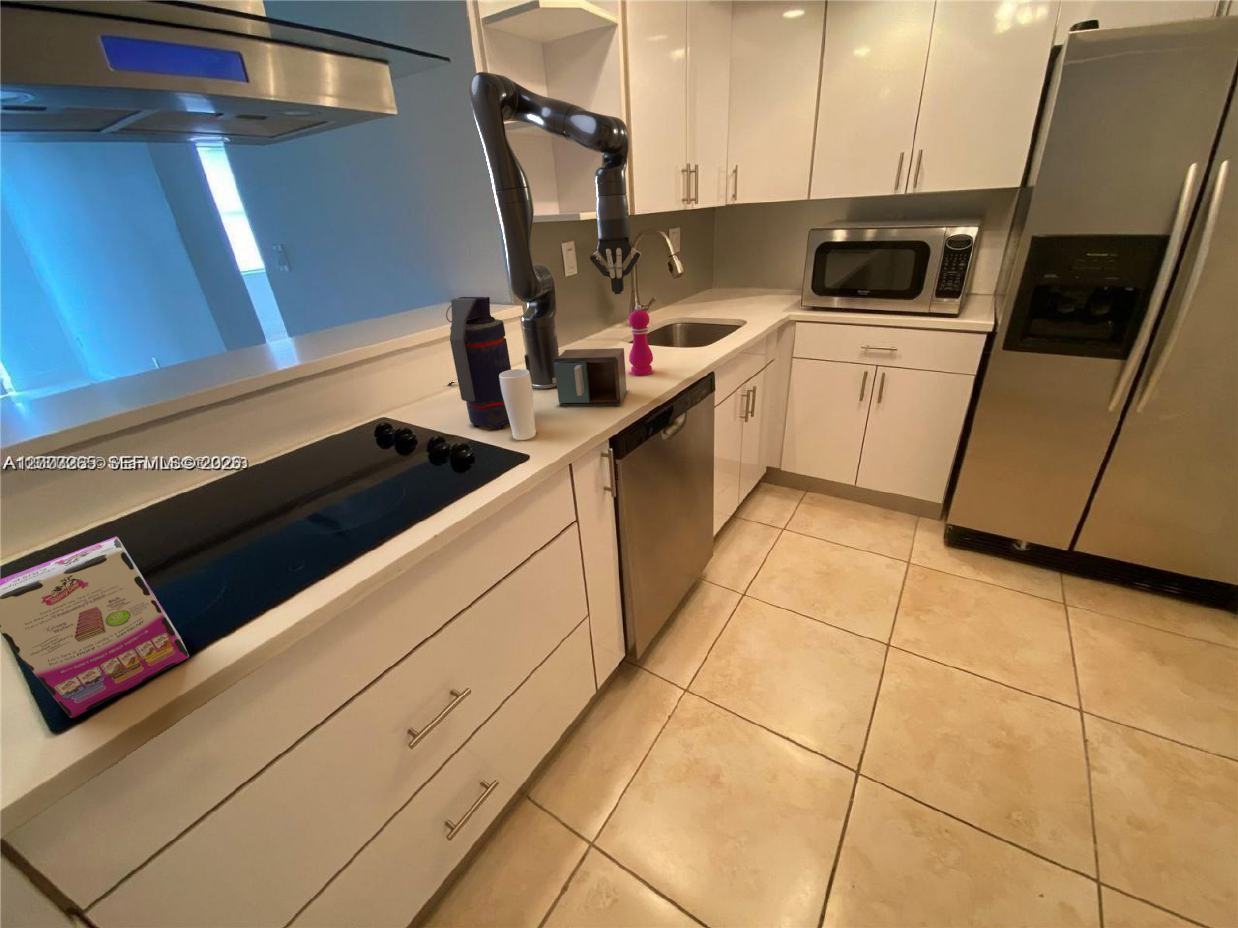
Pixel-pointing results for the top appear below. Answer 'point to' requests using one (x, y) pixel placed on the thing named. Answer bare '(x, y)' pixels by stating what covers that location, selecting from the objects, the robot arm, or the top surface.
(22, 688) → the top surface
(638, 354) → the pepper mill
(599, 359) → the cabinet
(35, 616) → the candy bar box
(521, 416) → the drinking glass
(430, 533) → the top surface
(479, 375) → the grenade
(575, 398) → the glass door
